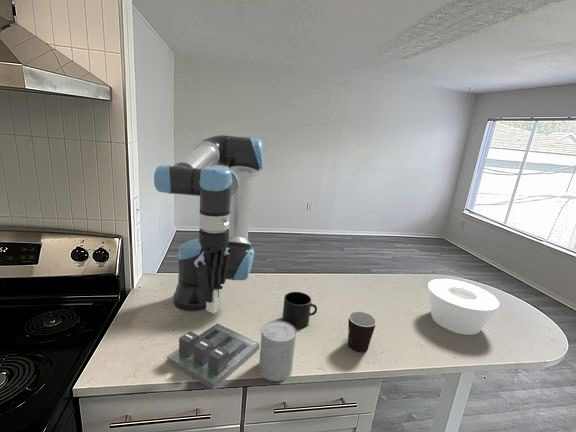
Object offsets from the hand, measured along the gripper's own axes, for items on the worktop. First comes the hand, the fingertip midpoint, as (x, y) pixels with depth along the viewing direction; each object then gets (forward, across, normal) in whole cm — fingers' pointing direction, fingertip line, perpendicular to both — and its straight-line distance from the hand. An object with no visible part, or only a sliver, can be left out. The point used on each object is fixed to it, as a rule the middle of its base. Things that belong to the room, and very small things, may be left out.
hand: (211, 310), depth 89 cm
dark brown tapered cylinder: (+16, +34, -33) cm, 50 cm away
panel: (+16, +2, 0) cm, 16 cm away
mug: (+16, +33, -11) cm, 38 cm away
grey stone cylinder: (+16, +8, -17) cm, 25 cm away
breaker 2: (+14, -3, 0) cm, 14 cm away
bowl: (+16, +71, -59) cm, 94 cm away
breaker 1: (+14, -3, +5) cm, 15 cm away
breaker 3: (+13, -3, -6) cm, 15 cm away
